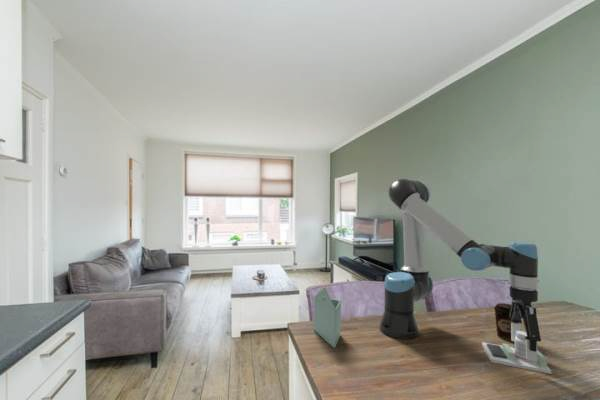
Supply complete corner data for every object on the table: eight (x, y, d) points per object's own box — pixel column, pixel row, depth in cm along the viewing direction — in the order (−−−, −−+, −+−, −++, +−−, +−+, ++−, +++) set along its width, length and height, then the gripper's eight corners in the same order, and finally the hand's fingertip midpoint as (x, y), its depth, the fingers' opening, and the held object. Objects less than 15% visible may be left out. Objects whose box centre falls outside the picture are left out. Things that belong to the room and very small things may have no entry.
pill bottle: (533, 363, 90) (533, 337, 90) (515, 359, 93) (515, 333, 93) (531, 357, 94) (531, 332, 94) (513, 352, 97) (513, 328, 97)
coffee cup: (525, 344, 106) (525, 310, 106) (500, 341, 107) (500, 308, 108) (512, 334, 114) (512, 303, 115) (490, 332, 116) (490, 301, 116)
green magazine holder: (352, 344, 102) (353, 290, 102) (333, 348, 98) (335, 292, 99) (329, 326, 117) (330, 280, 117) (313, 329, 113) (314, 281, 114)
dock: (491, 362, 92) (491, 351, 92) (481, 344, 104) (481, 335, 104) (551, 374, 86) (551, 362, 86) (534, 354, 98) (534, 344, 98)
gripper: (554, 299, 81) (555, 372, 80) (522, 280, 104) (522, 336, 104) (523, 296, 84) (523, 366, 83) (499, 278, 107) (499, 333, 106)
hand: (523, 350), depth 93 cm, fingers open, 13 cm apart
